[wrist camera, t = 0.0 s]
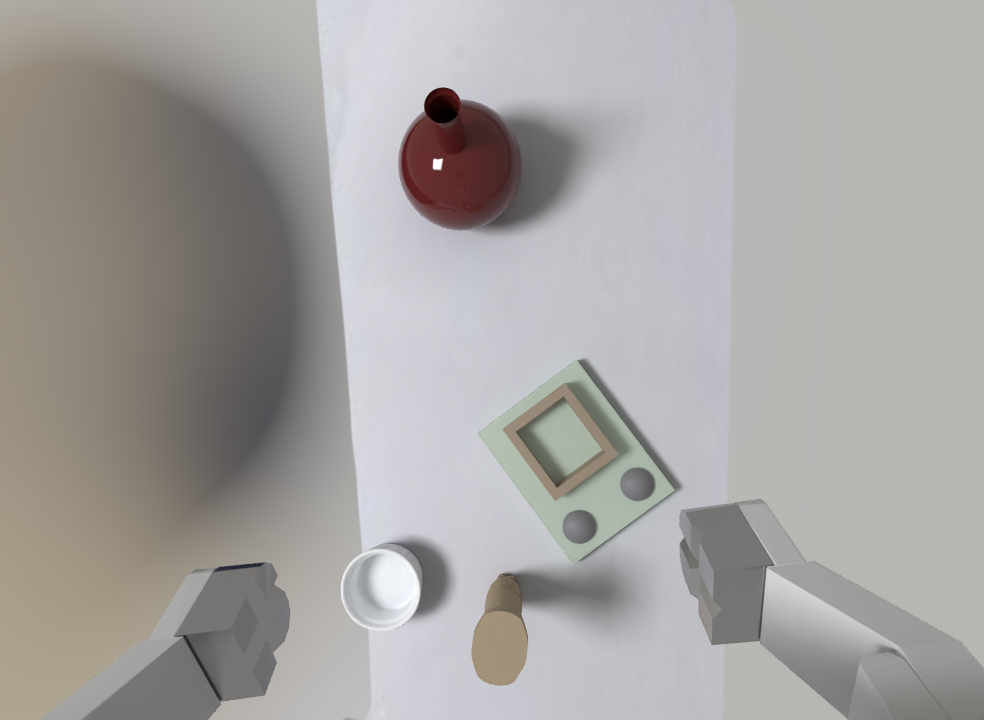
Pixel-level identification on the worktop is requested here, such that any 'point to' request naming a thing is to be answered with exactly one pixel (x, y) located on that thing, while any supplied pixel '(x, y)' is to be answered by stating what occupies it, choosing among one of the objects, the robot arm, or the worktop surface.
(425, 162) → the round-bottom flask
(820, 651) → the robot arm
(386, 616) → the ramekin
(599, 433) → the green board with frame
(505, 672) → the handle
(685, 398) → the worktop surface
